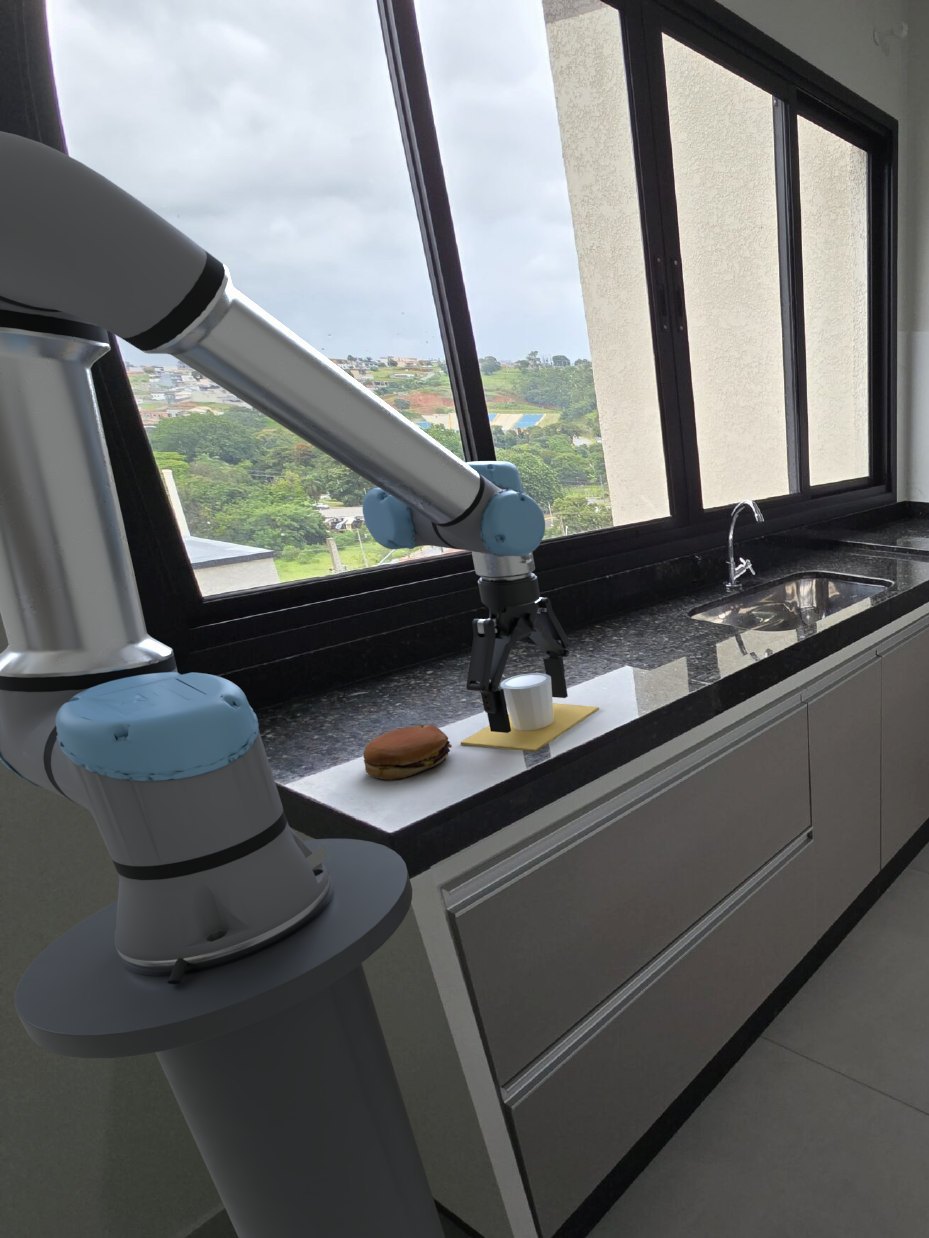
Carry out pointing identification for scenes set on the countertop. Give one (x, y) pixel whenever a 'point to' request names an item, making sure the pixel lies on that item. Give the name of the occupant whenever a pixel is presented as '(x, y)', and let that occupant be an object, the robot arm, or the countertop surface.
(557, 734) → the cloth
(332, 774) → the countertop surface
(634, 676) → the countertop surface
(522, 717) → the shot glass
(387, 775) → the burger
